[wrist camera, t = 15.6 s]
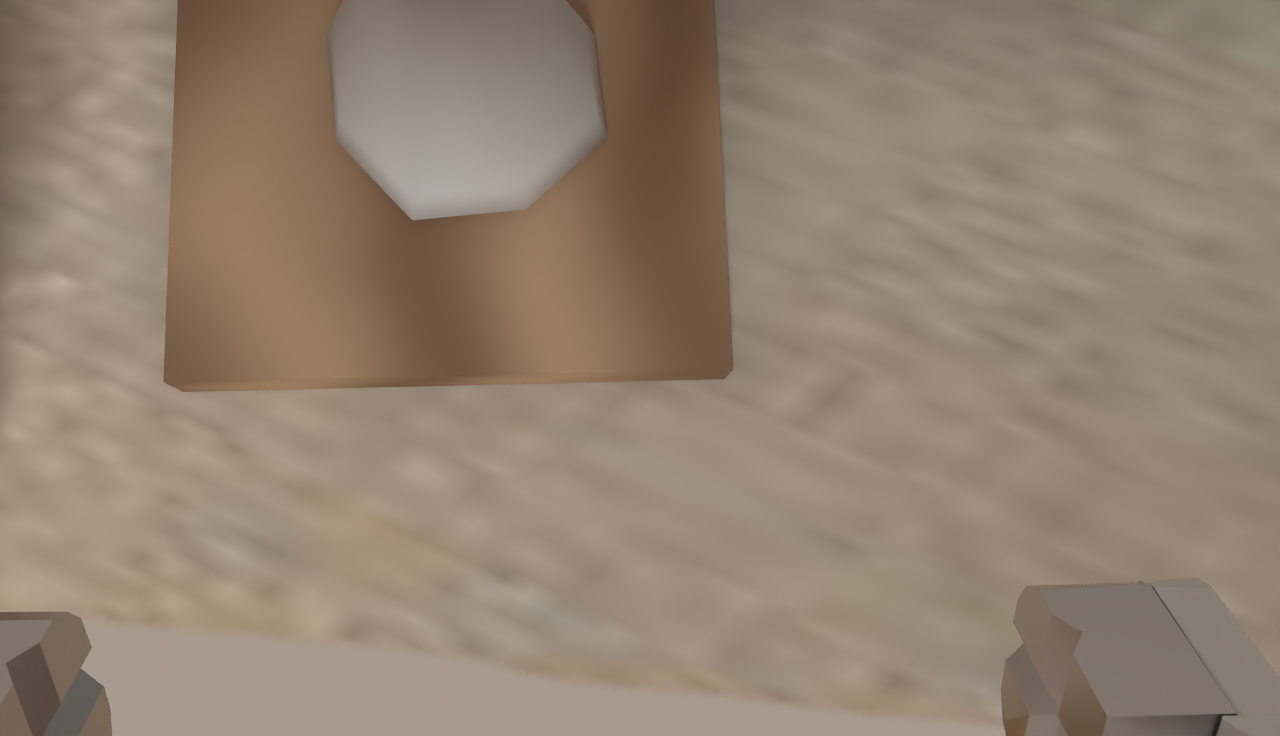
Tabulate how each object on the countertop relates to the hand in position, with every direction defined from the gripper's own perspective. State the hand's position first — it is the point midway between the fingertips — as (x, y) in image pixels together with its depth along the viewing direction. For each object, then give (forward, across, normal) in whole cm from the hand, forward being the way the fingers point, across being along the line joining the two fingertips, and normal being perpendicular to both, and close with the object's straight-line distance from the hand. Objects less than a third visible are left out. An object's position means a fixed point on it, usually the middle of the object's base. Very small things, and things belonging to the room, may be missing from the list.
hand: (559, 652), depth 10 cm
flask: (+22, +3, +1) cm, 22 cm away
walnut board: (+23, +4, +2) cm, 23 cm away
